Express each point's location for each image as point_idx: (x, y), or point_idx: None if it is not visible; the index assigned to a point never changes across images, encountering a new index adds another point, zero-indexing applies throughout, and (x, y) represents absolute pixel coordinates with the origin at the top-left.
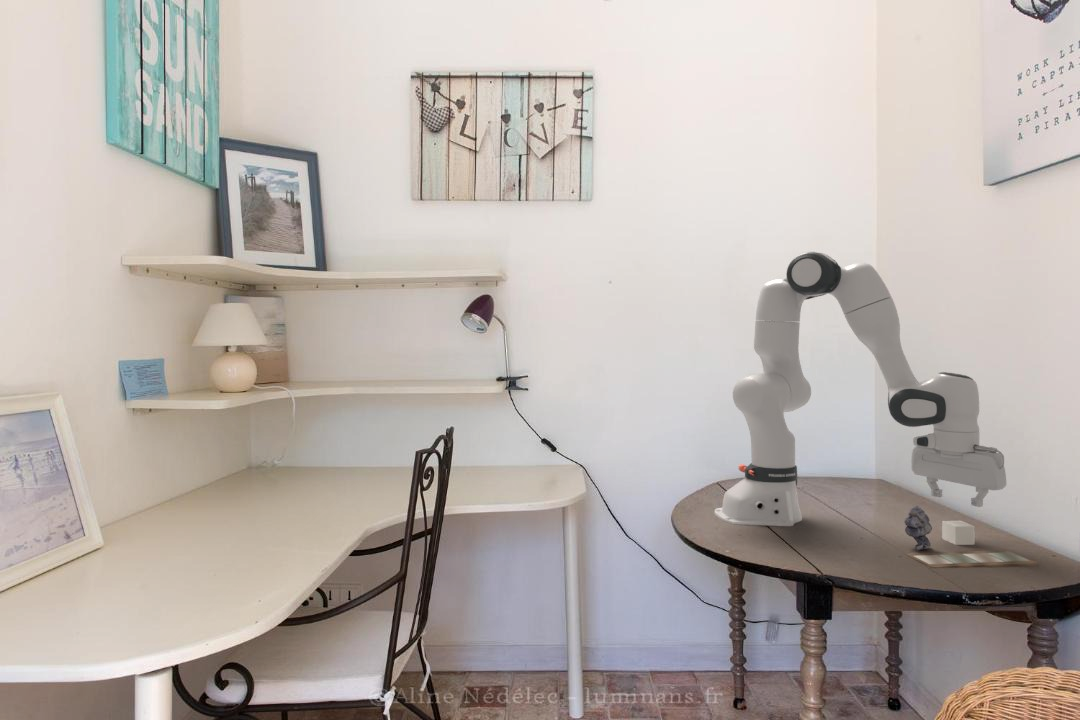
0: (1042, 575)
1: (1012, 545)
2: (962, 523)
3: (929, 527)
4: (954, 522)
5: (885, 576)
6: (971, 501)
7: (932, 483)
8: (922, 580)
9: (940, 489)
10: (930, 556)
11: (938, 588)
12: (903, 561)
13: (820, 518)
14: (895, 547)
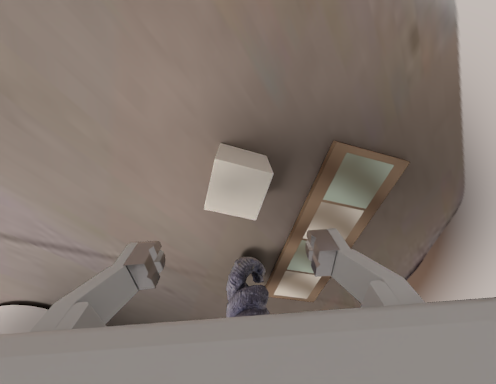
0: (422, 198)
1: (310, 58)
2: (241, 181)
3: (267, 299)
4: (225, 192)
5: None
6: (312, 264)
7: (102, 311)
8: None
9: (136, 266)
10: (286, 280)
11: None
12: (274, 303)
13: (35, 280)
14: (224, 280)
